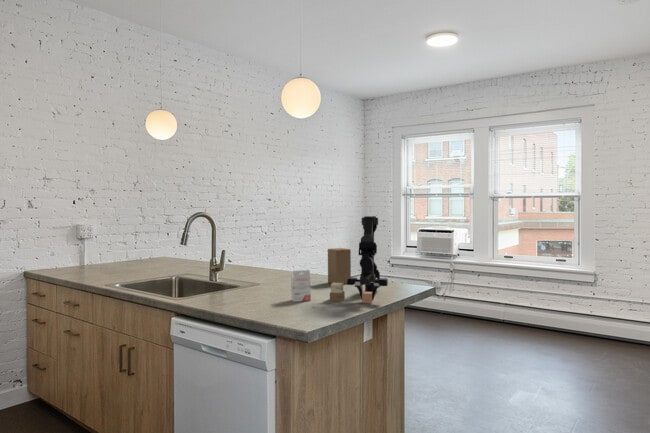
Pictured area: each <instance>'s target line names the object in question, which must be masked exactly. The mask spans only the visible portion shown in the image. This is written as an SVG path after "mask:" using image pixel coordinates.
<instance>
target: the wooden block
mask: <svg viewBox="0 0 650 433" xmlns="http://www.w3.org/2000/svg"><path fill="white" fill-rule="evenodd" d="M351 250H352V249H350V248H343V247H337V248H336V247H335V248H334V247H333V248H327V283H328V284H332V283H343V285H347V279H349V278H350V277H352V274H351V272H352V270H351V269H352V268H351V267H352V264H351V263H352V262H351V259H352V257H351V256H352V255H351V254H352V253H351Z"/></svg>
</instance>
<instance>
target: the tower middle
mask: <svg viewBox="0 0 650 433" xmlns="http://www.w3.org/2000/svg"><path fill="white" fill-rule="evenodd" d="M343 291H344V284H343V283H330V292H331V293H342V292H343Z"/></svg>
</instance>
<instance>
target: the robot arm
mask: <svg viewBox="0 0 650 433" xmlns="http://www.w3.org/2000/svg"><path fill="white" fill-rule="evenodd" d="M361 226H362V228H363V236H361V238H360V241H359V242H358V256H361V258H360V260H359V266H360V268H361V272H360V276H359V279H358V277H357V276H355V277H354V276H353V277H352V276H351V277H350V278H349V279H347V284H346V285H347V286H354V287H355V288H356V289H357V290H358V292H359V295H360V297H361V299H362V293H363V292H373V294H372V300H373V301H374V298H375V296H376V294H377V293H378V288H380V287H388V285H389V279H388V278H387V277H386V278H382V277H381V273H380V272H379V269H378V265H377V264H376V261H375V256H376V254H377V253H378V252H377V251H378V249H377V248H378V245H377V242H375V233H376V231H377V229H378V226H379V218H378V217H377V216H375V215H374V216H373V215H370V216H369V215H366V216H365V215H364V216H363V217H361ZM363 285H364V288H363Z"/></svg>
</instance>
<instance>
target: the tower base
mask: <svg viewBox="0 0 650 433" xmlns="http://www.w3.org/2000/svg"><path fill="white" fill-rule="evenodd" d="M345 294H346V292H345V291H344V290H343V292H342V293H331V291H330V292H329V302H340V303H341V302H344V300H346V299H345V297H346V295H345Z"/></svg>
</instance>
